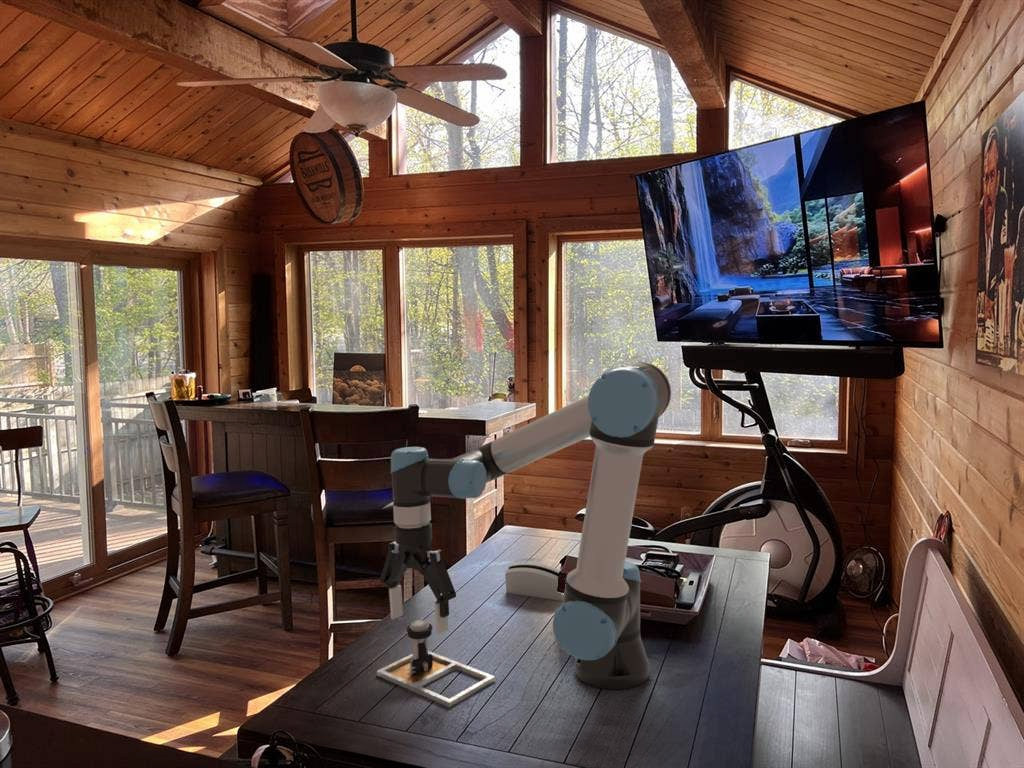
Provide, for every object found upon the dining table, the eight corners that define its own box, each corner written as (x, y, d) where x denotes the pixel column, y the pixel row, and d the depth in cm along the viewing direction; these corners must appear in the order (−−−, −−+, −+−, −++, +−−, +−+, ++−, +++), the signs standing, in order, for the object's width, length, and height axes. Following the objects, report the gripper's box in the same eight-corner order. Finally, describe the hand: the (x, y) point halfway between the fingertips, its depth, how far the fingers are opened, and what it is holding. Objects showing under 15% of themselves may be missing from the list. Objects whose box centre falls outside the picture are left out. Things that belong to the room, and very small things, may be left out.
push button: (417, 680, 155) (416, 632, 154) (398, 673, 158) (396, 627, 157) (439, 667, 160) (437, 621, 159) (419, 661, 163) (418, 616, 162)
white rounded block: (571, 594, 200) (566, 563, 196) (565, 606, 196) (559, 575, 192) (513, 586, 207) (507, 556, 203) (506, 597, 203) (500, 567, 199)
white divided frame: (495, 681, 154) (494, 676, 154) (449, 707, 144) (449, 702, 144) (423, 653, 168) (422, 648, 168) (376, 675, 158) (376, 670, 158)
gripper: (470, 527, 151) (475, 631, 153) (386, 511, 167) (392, 605, 169) (443, 536, 145) (449, 644, 147) (359, 519, 161) (365, 617, 163)
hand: (419, 624), depth 158 cm, fingers open, 13 cm apart
